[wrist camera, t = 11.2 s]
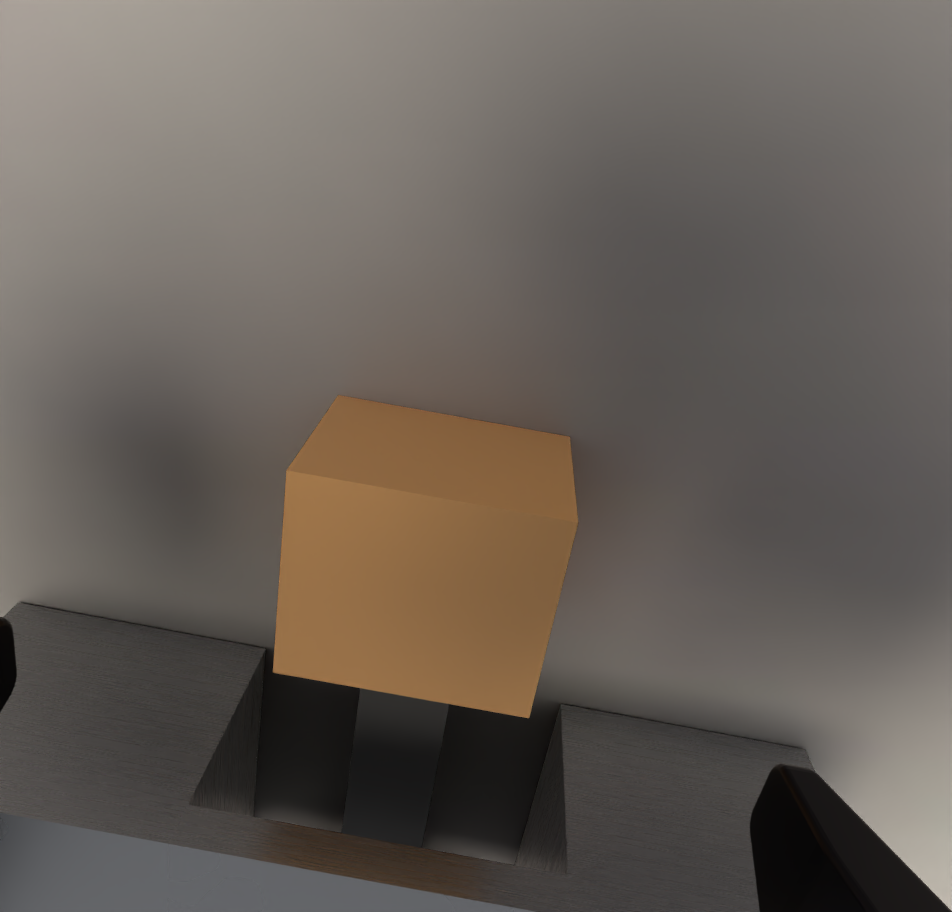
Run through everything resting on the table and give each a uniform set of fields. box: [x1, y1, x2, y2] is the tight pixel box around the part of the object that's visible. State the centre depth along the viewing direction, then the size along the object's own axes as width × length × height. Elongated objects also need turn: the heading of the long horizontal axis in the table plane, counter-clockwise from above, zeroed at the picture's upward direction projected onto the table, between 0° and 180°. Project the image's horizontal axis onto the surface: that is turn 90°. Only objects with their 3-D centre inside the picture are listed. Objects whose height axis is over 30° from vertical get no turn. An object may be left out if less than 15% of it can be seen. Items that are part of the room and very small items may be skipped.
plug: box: [273, 395, 578, 848], centre depth 15 cm, size 14×4×3 cm, turn 171°
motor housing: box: [0, 603, 815, 912], centre depth 14 cm, size 5×16×4 cm, turn 80°
